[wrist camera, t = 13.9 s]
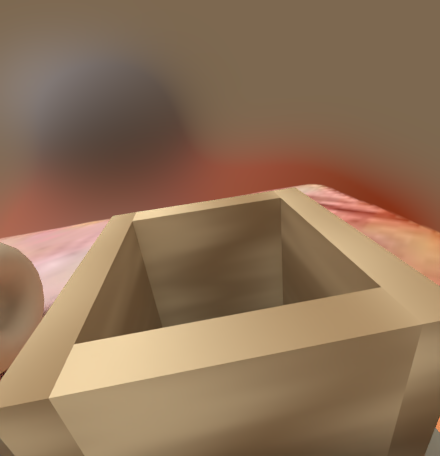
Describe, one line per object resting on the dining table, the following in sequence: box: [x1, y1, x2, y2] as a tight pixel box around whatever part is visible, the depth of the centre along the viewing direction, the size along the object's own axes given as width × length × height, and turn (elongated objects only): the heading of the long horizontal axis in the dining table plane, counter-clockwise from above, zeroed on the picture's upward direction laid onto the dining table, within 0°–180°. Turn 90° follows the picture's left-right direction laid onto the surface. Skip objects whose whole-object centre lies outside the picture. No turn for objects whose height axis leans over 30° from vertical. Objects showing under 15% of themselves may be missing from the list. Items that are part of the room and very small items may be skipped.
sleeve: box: [0, 188, 440, 456], centre depth 9 cm, size 6×6×12 cm
